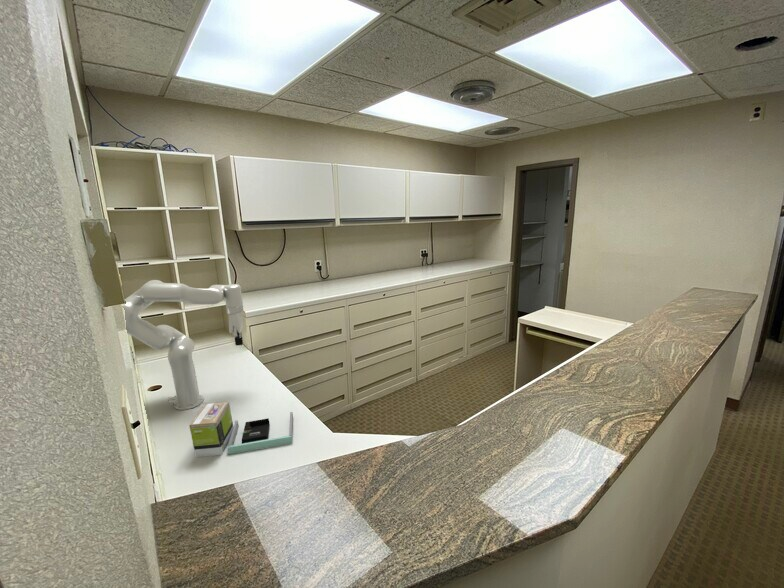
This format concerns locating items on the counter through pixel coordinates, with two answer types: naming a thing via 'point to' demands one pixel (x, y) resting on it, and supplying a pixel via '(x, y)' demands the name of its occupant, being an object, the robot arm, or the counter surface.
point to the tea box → (211, 429)
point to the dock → (258, 444)
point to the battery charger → (256, 431)
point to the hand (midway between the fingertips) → (239, 344)
